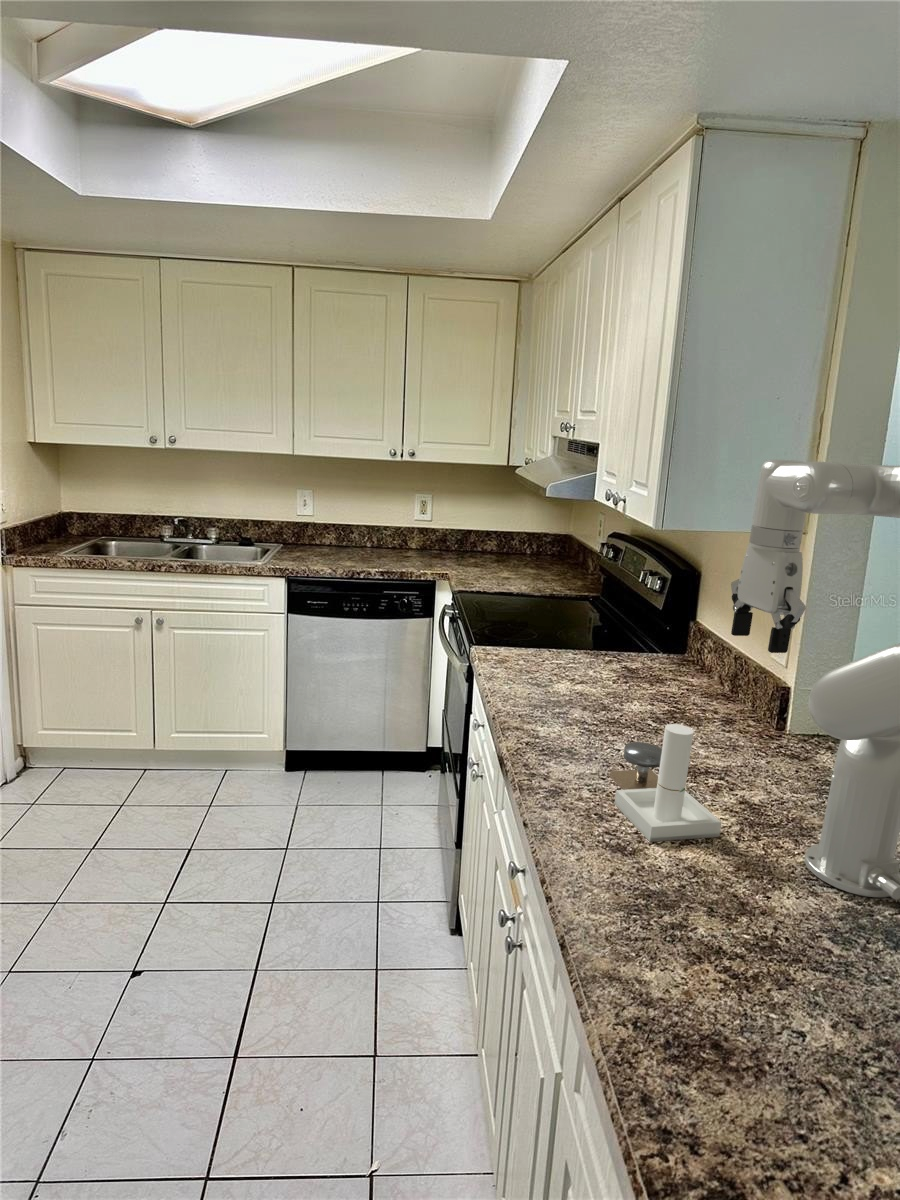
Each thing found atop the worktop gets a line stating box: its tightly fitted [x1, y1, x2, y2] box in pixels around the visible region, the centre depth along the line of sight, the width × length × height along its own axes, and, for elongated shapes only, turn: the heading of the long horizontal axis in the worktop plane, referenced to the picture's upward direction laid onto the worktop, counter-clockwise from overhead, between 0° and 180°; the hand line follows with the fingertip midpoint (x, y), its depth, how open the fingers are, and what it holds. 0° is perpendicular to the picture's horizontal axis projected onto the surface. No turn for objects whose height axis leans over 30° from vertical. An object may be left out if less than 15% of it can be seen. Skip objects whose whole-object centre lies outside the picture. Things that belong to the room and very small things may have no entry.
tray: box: [613, 788, 722, 843], centre depth 124 cm, size 12×12×2 cm
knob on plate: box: [609, 741, 662, 790], centre depth 135 cm, size 8×8×7 cm
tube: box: [653, 723, 694, 822], centre depth 122 cm, size 4×4×15 cm
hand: (758, 643), depth 126 cm, fingers open, 9 cm apart
